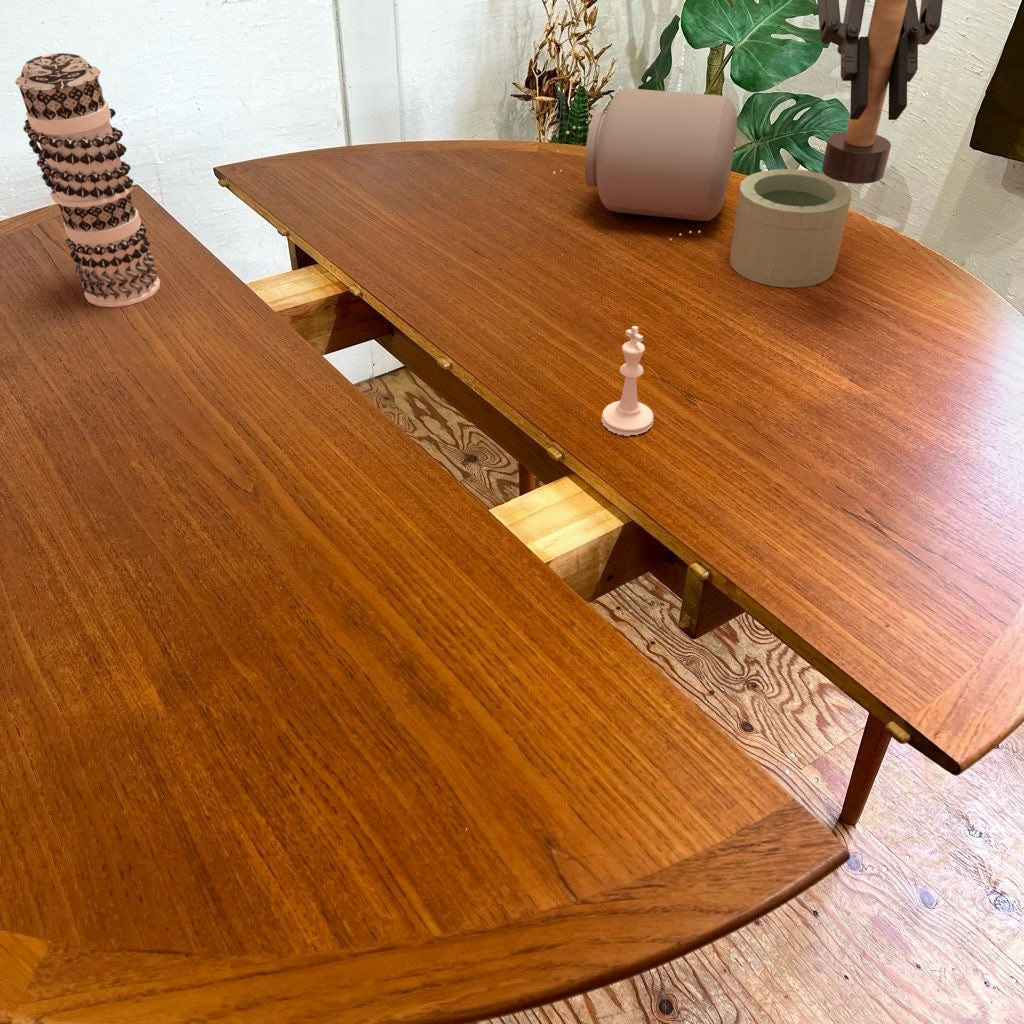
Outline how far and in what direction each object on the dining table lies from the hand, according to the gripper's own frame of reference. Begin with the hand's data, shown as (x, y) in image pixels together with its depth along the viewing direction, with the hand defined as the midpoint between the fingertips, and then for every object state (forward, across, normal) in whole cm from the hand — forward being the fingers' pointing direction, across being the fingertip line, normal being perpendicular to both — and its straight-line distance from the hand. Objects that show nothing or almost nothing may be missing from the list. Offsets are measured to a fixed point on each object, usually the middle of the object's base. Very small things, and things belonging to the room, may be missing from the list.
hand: (878, 112), depth 89 cm
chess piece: (+29, +22, -3) cm, 37 cm away
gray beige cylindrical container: (+6, +3, -26) cm, 27 cm away
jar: (-4, +21, -36) cm, 41 cm away
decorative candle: (+13, +80, -20) cm, 83 cm away
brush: (+2, 0, -8) cm, 8 cm away
